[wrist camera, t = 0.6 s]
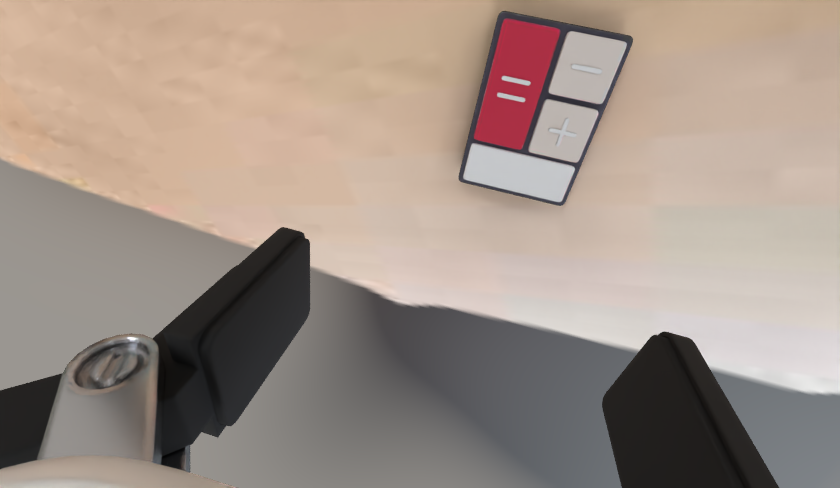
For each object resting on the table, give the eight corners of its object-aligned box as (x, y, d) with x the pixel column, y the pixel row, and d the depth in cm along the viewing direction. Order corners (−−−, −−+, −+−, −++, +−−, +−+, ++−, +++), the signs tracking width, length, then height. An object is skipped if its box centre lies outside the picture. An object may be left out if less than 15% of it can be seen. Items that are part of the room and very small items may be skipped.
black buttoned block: (639, 36, 27) (564, 210, 35) (622, 38, 31) (558, 195, 38) (499, 8, 28) (456, 183, 35) (499, 14, 32) (460, 171, 39)
